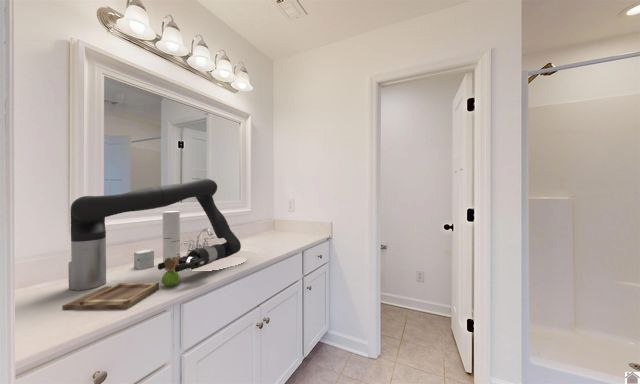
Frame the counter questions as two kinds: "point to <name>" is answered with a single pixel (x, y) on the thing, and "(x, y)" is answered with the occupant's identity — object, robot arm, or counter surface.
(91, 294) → the display base
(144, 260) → the skincare box
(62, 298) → the counter surface
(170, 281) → the snail figurine
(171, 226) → the cylindrical container
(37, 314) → the counter surface
